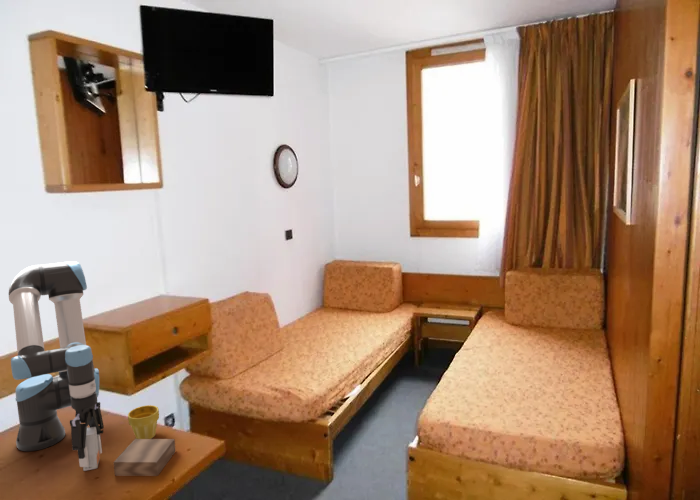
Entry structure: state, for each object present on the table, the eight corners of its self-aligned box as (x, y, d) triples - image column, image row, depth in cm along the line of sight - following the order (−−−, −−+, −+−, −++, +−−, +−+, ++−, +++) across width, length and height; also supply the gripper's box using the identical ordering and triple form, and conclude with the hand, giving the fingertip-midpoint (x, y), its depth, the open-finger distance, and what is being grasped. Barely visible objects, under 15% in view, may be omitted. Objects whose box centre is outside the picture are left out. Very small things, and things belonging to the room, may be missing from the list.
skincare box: (97, 468, 162) (93, 434, 160) (83, 471, 161) (79, 437, 159) (100, 458, 168) (96, 425, 166) (86, 461, 166) (82, 428, 164)
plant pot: (150, 445, 175) (147, 419, 174) (124, 442, 177) (121, 417, 176) (166, 430, 185) (164, 405, 184) (141, 428, 188) (139, 404, 186)
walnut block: (115, 476, 158) (113, 462, 157) (136, 452, 172) (134, 439, 171) (157, 476, 157) (156, 462, 156) (175, 452, 171) (174, 439, 170)
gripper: (76, 407, 150) (85, 477, 154) (110, 380, 170) (117, 443, 173) (52, 408, 151) (61, 477, 154) (89, 381, 170) (96, 443, 174)
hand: (91, 459), depth 164 cm, fingers closed on skincare box, 7 cm apart
